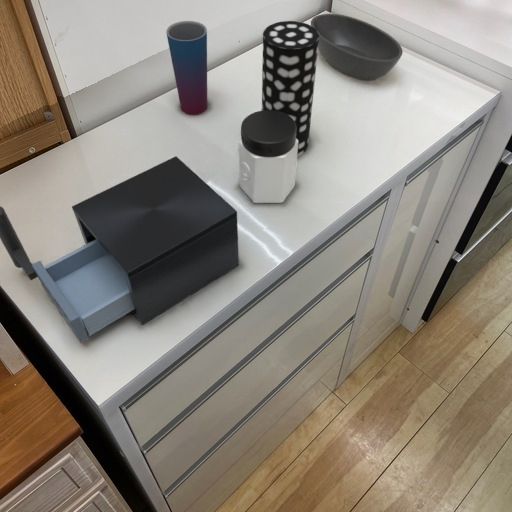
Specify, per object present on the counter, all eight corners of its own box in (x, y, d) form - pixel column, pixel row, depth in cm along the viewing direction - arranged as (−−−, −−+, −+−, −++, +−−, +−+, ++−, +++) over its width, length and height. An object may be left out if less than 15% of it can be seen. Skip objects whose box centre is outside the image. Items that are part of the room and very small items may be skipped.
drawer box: (142, 325, 70) (127, 273, 61) (91, 260, 77) (71, 206, 68) (238, 265, 76) (237, 211, 68) (183, 211, 83) (176, 155, 75)
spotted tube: (286, 123, 98) (292, 15, 82) (318, 145, 94) (330, 36, 78) (251, 141, 94) (251, 32, 79) (283, 165, 90) (289, 55, 75)
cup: (172, 100, 102) (161, 24, 91) (206, 93, 104) (200, 18, 92) (181, 120, 98) (172, 43, 87) (216, 113, 100) (212, 36, 88)
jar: (231, 179, 88) (229, 118, 79) (273, 163, 91) (275, 102, 81) (260, 213, 83) (260, 152, 74) (303, 194, 86) (309, 133, 76)
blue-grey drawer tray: (70, 349, 66) (45, 300, 58) (13, 263, 74) (-16, 210, 66) (178, 284, 72) (169, 232, 64) (114, 212, 81) (98, 158, 73)
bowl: (369, 99, 103) (375, 70, 98) (293, 52, 114) (295, 24, 109) (410, 77, 108) (418, 48, 103) (334, 35, 119) (337, 7, 114)
